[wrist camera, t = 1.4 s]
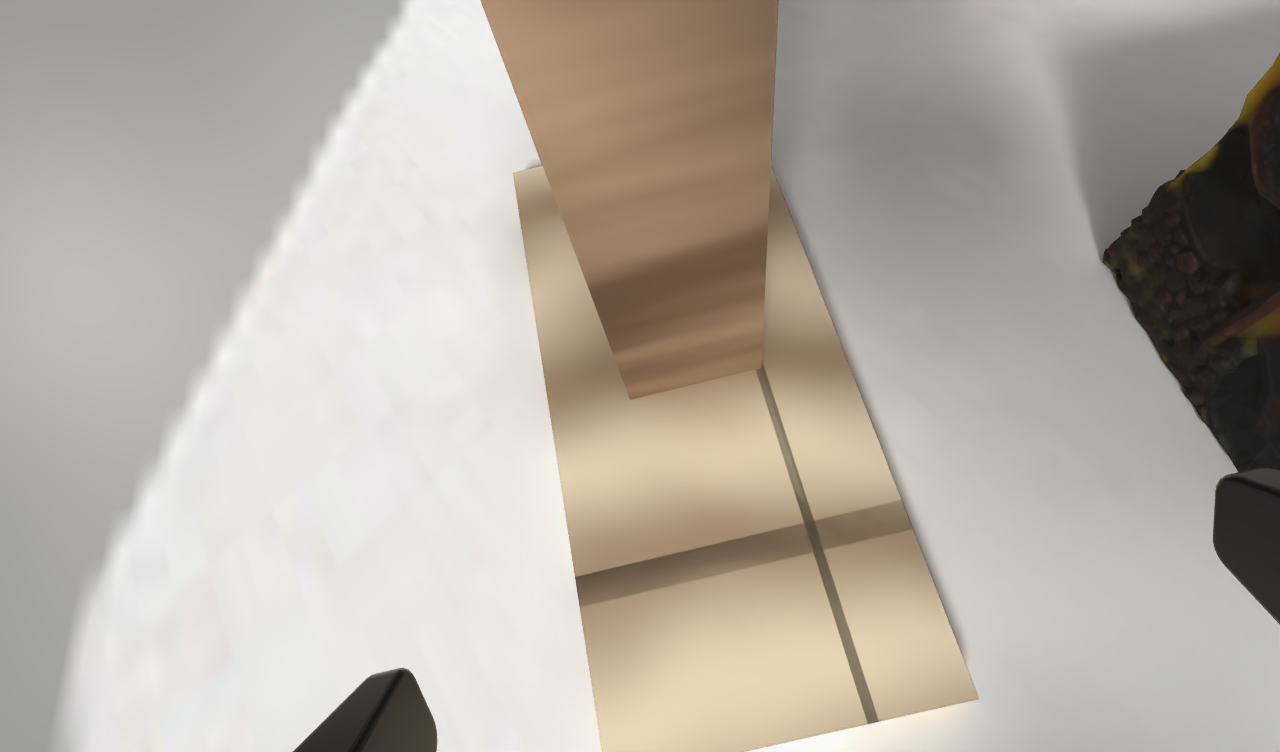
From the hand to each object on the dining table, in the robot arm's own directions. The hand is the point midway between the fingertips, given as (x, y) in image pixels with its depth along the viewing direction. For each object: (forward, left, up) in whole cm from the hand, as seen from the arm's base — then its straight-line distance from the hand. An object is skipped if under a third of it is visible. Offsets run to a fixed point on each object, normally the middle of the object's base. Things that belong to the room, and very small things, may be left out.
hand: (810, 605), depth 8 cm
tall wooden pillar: (+8, +8, -13) cm, 17 cm away
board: (+6, +6, -14) cm, 17 cm away
